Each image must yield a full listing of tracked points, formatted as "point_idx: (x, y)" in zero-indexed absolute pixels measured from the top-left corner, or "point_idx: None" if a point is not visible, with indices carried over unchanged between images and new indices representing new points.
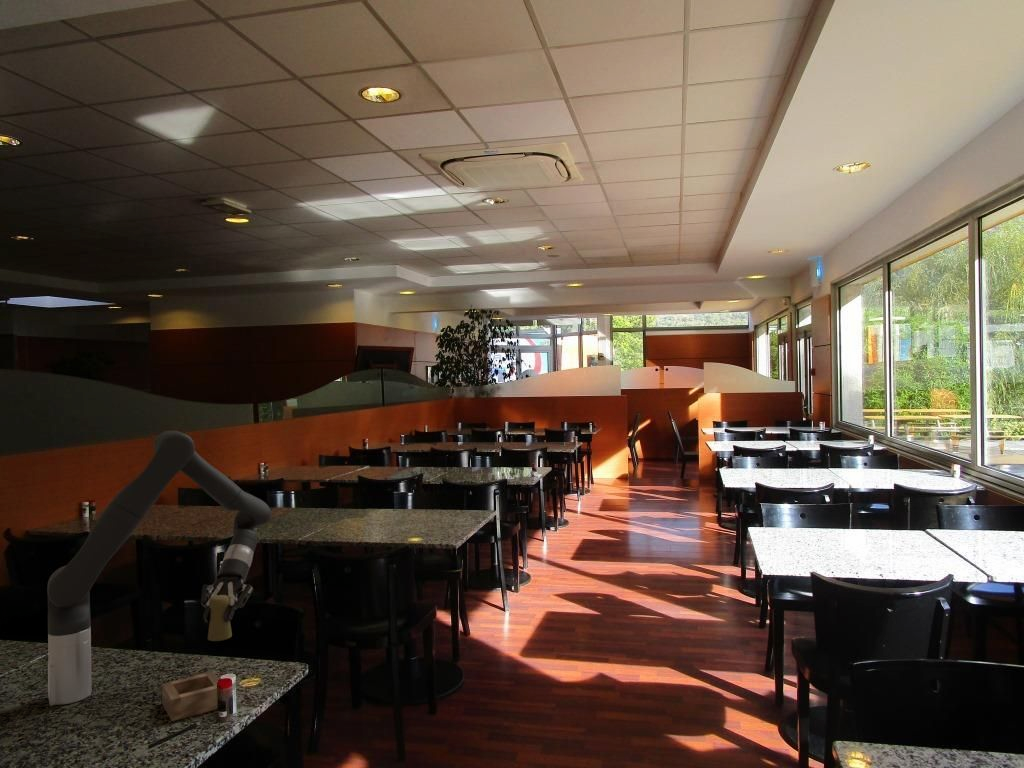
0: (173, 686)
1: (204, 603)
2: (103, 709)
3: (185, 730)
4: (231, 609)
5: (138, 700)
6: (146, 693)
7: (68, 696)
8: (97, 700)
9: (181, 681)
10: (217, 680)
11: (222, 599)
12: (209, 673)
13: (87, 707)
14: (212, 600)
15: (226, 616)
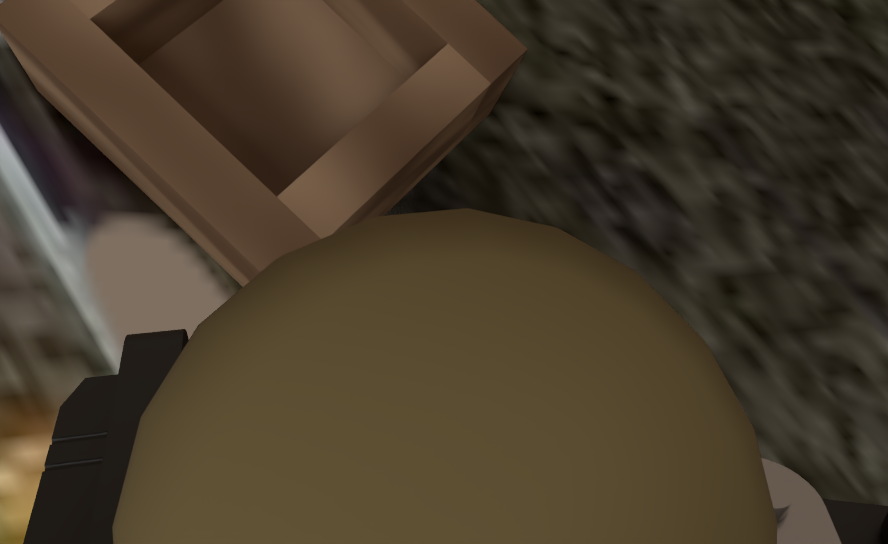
0: (413, 8)
1: (883, 518)
2: (757, 45)
3: None
4: (55, 523)
5: (665, 153)
6: (694, 245)
7: None
8: (878, 142)
9: (412, 86)
10: (122, 111)
11: (223, 328)
12: (282, 241)
13: (853, 64)
14: (545, 230)
15: (129, 352)
